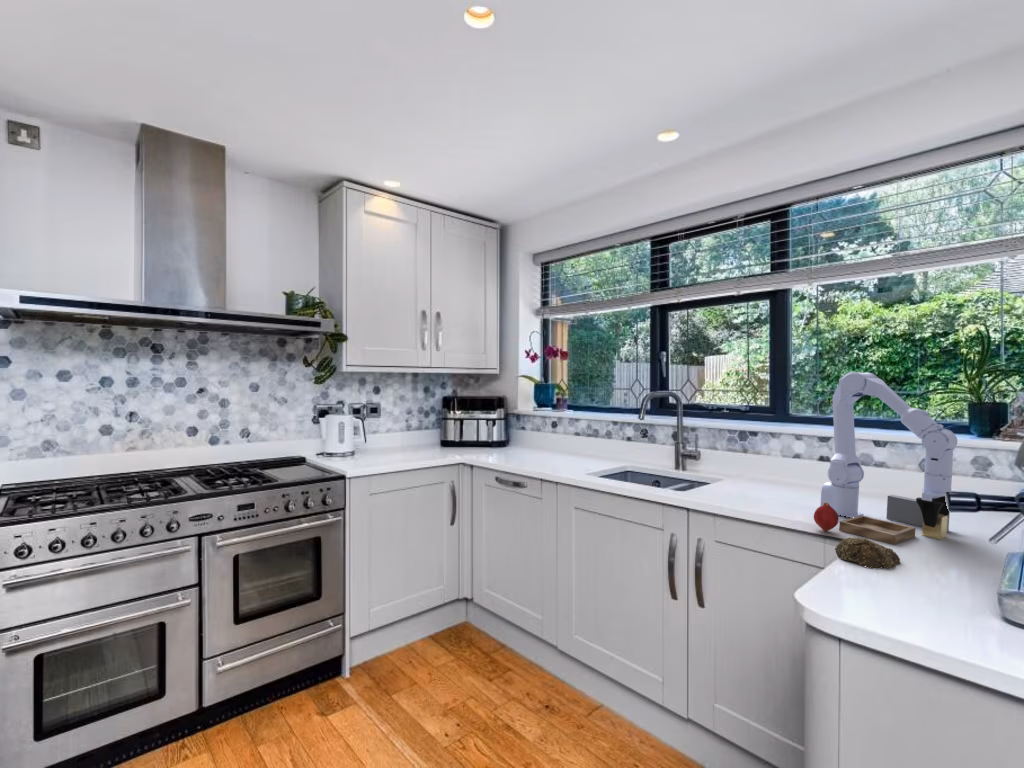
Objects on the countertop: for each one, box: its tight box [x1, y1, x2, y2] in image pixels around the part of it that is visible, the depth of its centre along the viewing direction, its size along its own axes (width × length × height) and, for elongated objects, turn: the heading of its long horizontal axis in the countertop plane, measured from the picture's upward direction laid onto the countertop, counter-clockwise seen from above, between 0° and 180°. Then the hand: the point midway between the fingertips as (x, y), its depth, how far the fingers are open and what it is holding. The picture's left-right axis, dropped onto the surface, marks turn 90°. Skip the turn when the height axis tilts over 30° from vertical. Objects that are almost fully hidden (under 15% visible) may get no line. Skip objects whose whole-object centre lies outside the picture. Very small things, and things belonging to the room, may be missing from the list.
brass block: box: [922, 514, 948, 541], centre depth 138 cm, size 4×4×6 cm
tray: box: [838, 515, 916, 545], centre depth 139 cm, size 13×13×2 cm
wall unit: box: [886, 494, 951, 532], centre depth 149 cm, size 14×3×7 cm, turn 33°
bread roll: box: [834, 537, 901, 569], centre depth 119 cm, size 13×12×5 cm
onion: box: [813, 502, 840, 532], centre depth 140 cm, size 6×6×8 cm
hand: (935, 524), depth 138 cm, fingers open, 7 cm apart
